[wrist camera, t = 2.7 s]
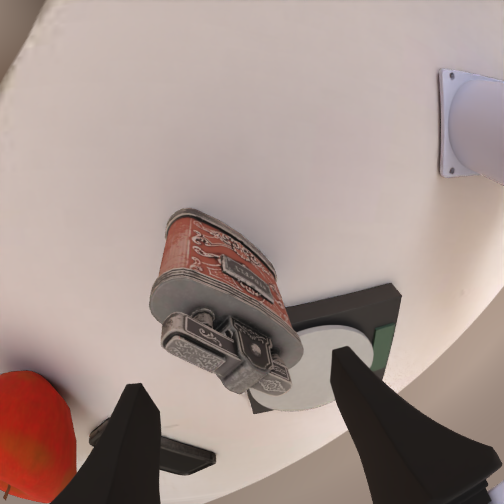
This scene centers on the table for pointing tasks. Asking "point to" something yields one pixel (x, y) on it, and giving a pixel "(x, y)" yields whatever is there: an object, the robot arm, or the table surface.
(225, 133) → the table surface
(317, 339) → the scale
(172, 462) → the phone
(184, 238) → the lighter
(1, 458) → the apple
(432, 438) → the robot arm
